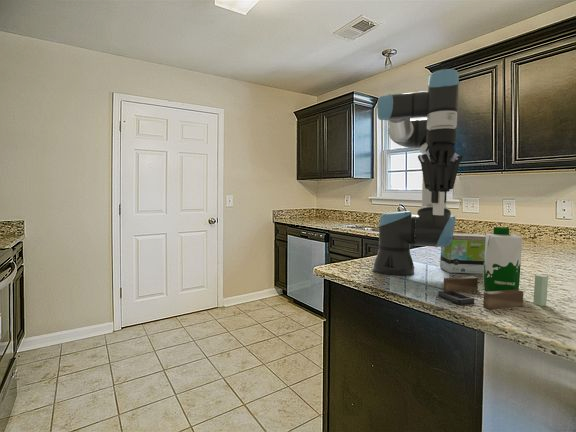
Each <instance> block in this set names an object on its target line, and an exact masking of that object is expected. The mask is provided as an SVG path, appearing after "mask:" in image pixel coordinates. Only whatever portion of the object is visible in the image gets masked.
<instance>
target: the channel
mask: <svg viewBox="0 0 576 432" xmlns="http://www.w3.org/2000/svg"><path fill="white" fill-rule="evenodd" d="M478 285H479V277H477V276H473V275H472V276H471V275H469V276H456V277H455V276H454V277H444V278H443V287H442V291H450V290H453V291H456V292H459V293H461V292H472V291H473V292H474V291H478V289H479V286H478ZM482 303H483V305H482V306H483V308H485V309H488V310H495V309H506V308H518V307H523V304H524V290H520V289H519V290H517V289H515V290H503V291H490V292H486V291H483V302H482Z"/></svg>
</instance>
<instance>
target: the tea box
mask: <svg viewBox="0 0 576 432" xmlns="http://www.w3.org/2000/svg"><path fill="white" fill-rule="evenodd" d="M485 242H486V234H481V233H466V232H465V233H463V232H454V233H453V238H452V242H451V244H450V245H449V246H448V247H440V260H439V268H440V269H442V270H443V271H444V272H445V271H446V272H447V273H449V274H450V273H456V274H458V273H461V274H478V275H483V269H484V260H485Z"/></svg>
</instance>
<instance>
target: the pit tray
mask: <svg viewBox="0 0 576 432" xmlns="http://www.w3.org/2000/svg"><path fill="white" fill-rule="evenodd" d="M437 296H438V298H441V299H444V300H445V301H449V302H450V303H453V304H455V305H456V306H464V305H465V306H466V305H475V298H474V297H472V296H469V295H466V294H464V293H461V292H456V291H453V290H450V291H443V290H441V291H440V290H439V291H438V294H437Z"/></svg>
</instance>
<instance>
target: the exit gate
mask: <svg viewBox="0 0 576 432" xmlns="http://www.w3.org/2000/svg"><path fill="white" fill-rule="evenodd" d="M548 282H549V275H548V276H547V275H544V274H535V275H534V289H533V302H532V303H533V304H534V305H536V306H539V307H541V306H542V307H543V306H545V307H546V306H547V301H548V285H549V284H548ZM482 287H483V288H484V269H483V274H482Z"/></svg>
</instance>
